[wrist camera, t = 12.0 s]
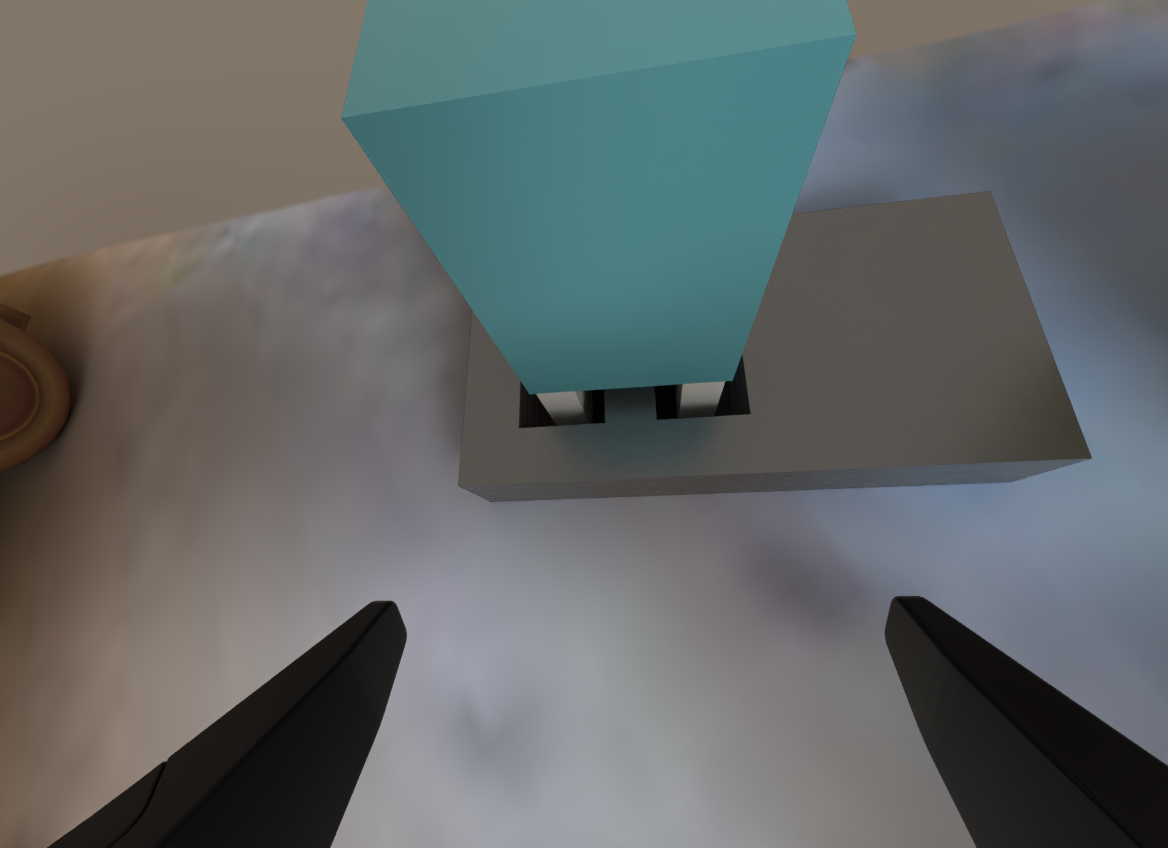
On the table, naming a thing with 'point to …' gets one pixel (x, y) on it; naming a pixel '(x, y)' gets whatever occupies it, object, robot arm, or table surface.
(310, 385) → the table surface
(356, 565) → the table surface
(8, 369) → the wooden toy train
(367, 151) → the clip
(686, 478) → the grey block with holes
